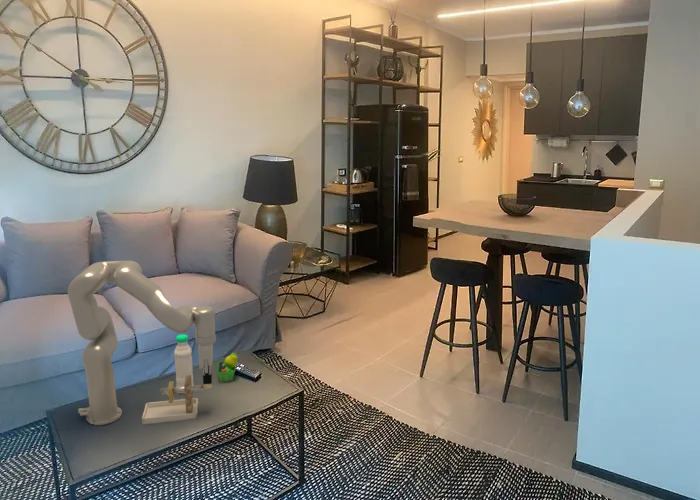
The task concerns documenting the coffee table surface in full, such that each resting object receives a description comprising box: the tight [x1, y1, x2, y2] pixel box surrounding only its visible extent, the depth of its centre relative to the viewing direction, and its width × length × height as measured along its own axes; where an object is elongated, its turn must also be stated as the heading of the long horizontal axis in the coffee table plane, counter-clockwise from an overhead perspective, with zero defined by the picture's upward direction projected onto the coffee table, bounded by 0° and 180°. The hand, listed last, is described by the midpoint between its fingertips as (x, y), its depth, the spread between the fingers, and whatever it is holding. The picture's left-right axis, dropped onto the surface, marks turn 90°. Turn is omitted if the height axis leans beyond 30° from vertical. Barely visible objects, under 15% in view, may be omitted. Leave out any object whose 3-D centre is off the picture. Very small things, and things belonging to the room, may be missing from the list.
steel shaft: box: [159, 368, 213, 396], centre depth 209 cm, size 20×3×9 cm, turn 103°
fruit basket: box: [216, 352, 239, 383], centre depth 240 cm, size 11×9×11 cm
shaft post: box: [184, 375, 194, 414], centre depth 211 cm, size 2×8×14 cm, turn 13°
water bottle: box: [173, 333, 194, 395], centre depth 226 cm, size 7×7×25 cm
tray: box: [141, 397, 199, 426], centre depth 210 cm, size 20×12×2 cm, turn 103°
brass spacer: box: [167, 380, 175, 403], centre depth 209 cm, size 2×6×6 cm, turn 13°
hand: (207, 381), depth 211 cm, fingers closed on steel shaft, 3 cm apart
